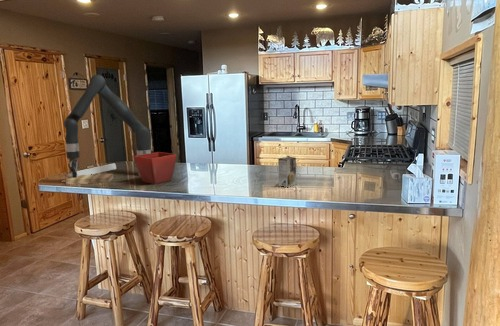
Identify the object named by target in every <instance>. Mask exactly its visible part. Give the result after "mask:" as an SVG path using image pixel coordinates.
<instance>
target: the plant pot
mask: <svg viewBox="0 0 500 326" xmlns="http://www.w3.org/2000/svg"><path fill="white" fill-rule="evenodd" d="M133 159H134V163H135V166H136V168H137V169H136V170H137V173H138V172H139V174H140V175H139V174H138V175H139V176H140V179H141V181H142V182H143V183H146V184H147V183H148V184H151V185H156V184H161V183H165V182H170V181H172V178H173V175H174V170H175V165H176V161H177V154H176V153H170V152H164V151H163V152H161V151H155V152H151V153H149V154H142V155H137V154H136V155H133Z"/></svg>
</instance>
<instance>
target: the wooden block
mask: <svg viewBox="0 0 500 326" xmlns="http://www.w3.org/2000/svg"><path fill="white" fill-rule="evenodd" d="M93 175H94V174H93ZM113 179H114V173H102V174H101V173H96V174H95V175H94V176H93V177H92V178H90V183H89V184H105V183H110V182H112V180H113Z"/></svg>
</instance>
